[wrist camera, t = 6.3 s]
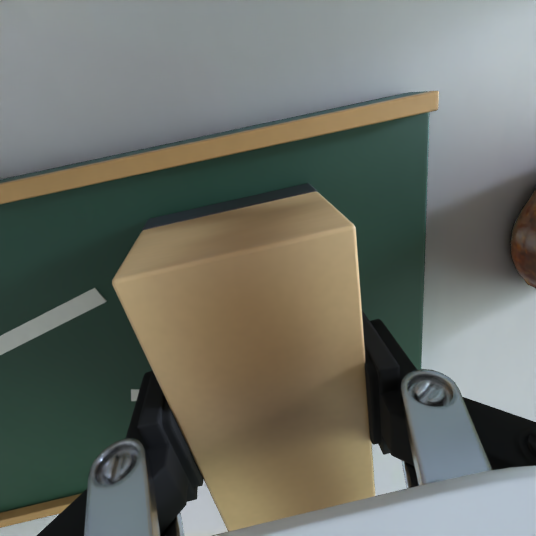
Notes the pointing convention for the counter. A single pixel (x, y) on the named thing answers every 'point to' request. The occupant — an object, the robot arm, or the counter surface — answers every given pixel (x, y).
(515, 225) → the sauce bottle
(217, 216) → the eraser
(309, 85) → the counter surface
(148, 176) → the chalkboard
